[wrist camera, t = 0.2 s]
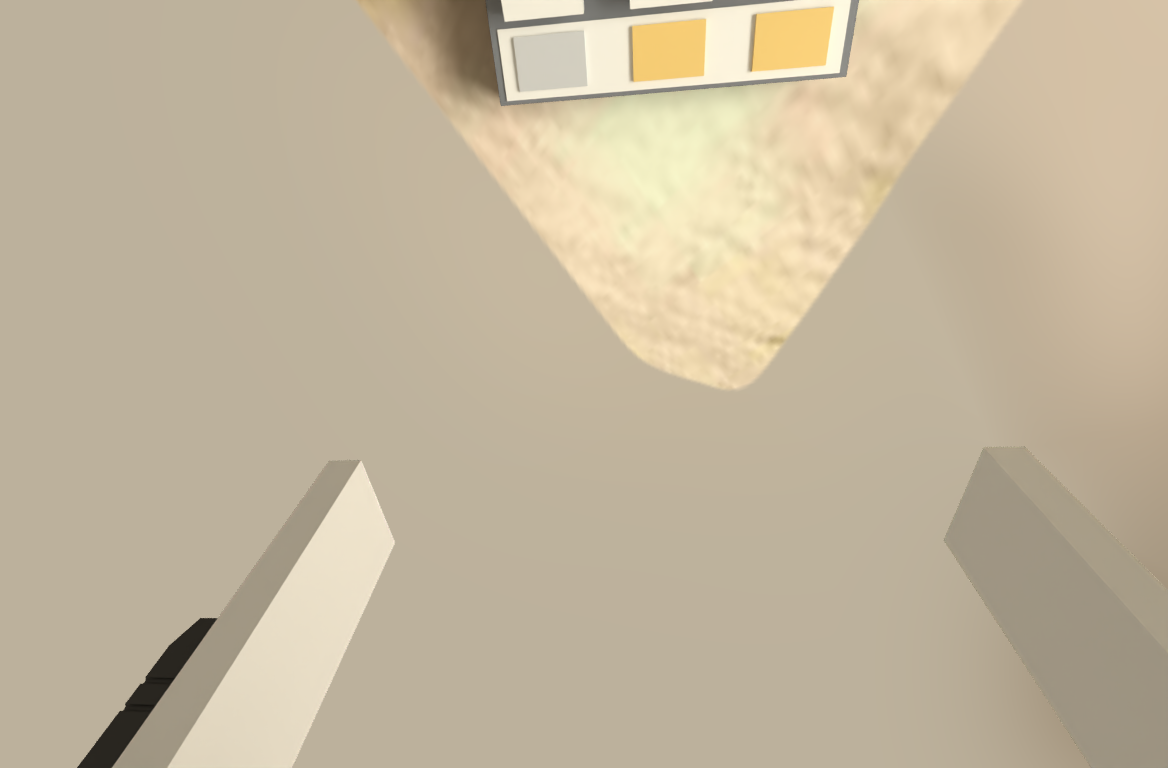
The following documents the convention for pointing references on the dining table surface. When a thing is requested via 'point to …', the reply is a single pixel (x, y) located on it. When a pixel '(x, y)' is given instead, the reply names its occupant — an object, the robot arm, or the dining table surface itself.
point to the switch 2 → (660, 3)
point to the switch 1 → (540, 9)
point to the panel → (668, 47)
